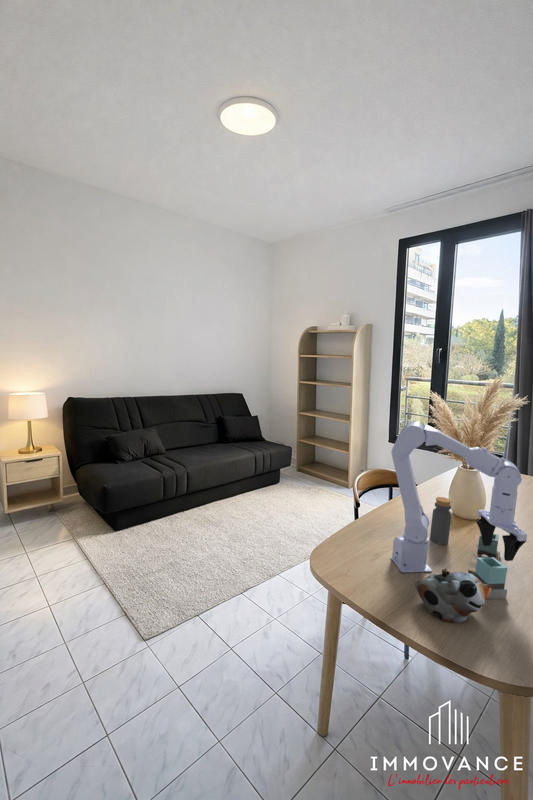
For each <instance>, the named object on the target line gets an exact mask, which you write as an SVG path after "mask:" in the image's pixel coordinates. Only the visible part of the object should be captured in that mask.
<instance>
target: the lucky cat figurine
mask: <svg viewBox="0 0 533 800" xmlns="http://www.w3.org/2000/svg"><path fill="white" fill-rule="evenodd" d="M414 584H415V585H414V586H415V588H416V592H417V593H418V596H419V597H420V600H421V601H422V604H424V606H425V607H426V609H427V610H428V611H429V612H430V613H431V614H432V615H433V616H434V615H435V616H437V618H439V620H440V621H442V622H445V623H446V622H448V623H464V622H465V621H466V620H467V619H468V617H469V615H470V614H472V613H476V612H478V611H481V610H482V608H483V606H484V604H485V602H486V600H488V599H487V598H488V597H489V596H490V593H491V587H492V585H487V584H483V583H482V582H481V581H480V580H479V579H478V578H477V577H475V576H474V575H473V574H470V573H468V572H465V571H453V572H450V570H449V569H448V568H444V569H442V571H441V573H440V574H436V573H432V574H429V575H428V576H427V577H425V578H424V579H423V580H416V581H415V583H414Z"/></svg>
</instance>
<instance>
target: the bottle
mask: <svg viewBox="0 0 533 800" xmlns="http://www.w3.org/2000/svg"><path fill="white" fill-rule="evenodd" d="M435 500H436V501H435V503H434V508H433V510H432V515H431V516H432V517H431V524H430V531H429V533H430V534H429V540H430V541H432V542H433V543H435V544H437V545H448V544H449V540H450V539H449V537H450V530H451V521H452V512H451V511H450V510H452V505H451V503H452V500H451V499H449V498H448V497H443V496H436V497H435Z"/></svg>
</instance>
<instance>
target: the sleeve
mask: <svg viewBox="0 0 533 800" xmlns="http://www.w3.org/2000/svg"><path fill="white" fill-rule="evenodd" d="M507 572H508V567H507V566H505V565H504V564H503V563H501V561H500V560H499V561H498V560H497V559H495V558H494V557H484V558H477V563H476V571H475V577H477V578H478V579H479V580H480V581H481V582H482V583H483V584H487V585H492V587H491V589H503V588H504V587H505V585H506V580H507V579H506V578H507ZM505 588H506V587H505Z"/></svg>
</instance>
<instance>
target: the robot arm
mask: <svg viewBox="0 0 533 800" xmlns="http://www.w3.org/2000/svg"><path fill="white" fill-rule="evenodd" d="M424 443H425V446H426V447H429V446H439V447H441V448H442V449H445V450H447V451H450V452H451V453H453V454H455V455H457V456H459V457H461V458H464V462H465V464H466V465H467V466H468V467H471V468H473V469H475V470H477V471H479V472H481V473H482V474H484V475H486V476H488V477H490V478H494V479H493V487H492V489H491V497H490V498H491V499H490V505H489V506H490V507H489V511H488V510H486V509H478V510H477V517H478V518H477V519H476V520H475V523H476V525H477V526H478V529H479V532H480V533H481V537H482V542H483V545H484V546H490V545H491V543H492V539H493V534H495V531H496V528H499V529H501V530H503V531H505V532H506V533H507V534H506V535H505V534H504V535H502V540H503V545H504V553H503V558H504V560H505V561H506V562H512V561H514V559H515V557H516V555H517V553H518V551H519V549H520V548H521V547H522V546H523V545H524V544H526V543H527V539H528V538H527V537H528V533H527V532H525V531H523V530H522V529H521V528H520V527H519V526H518V525H517V524H516V522H517V521H515V515H516V508H517V500H518V489H519V488H518V487H519V485H520V484H521V483H522V480H523V479H522V474H521V472H520V471H519V469H518V467H517V466H516V464H515V463H513V462H512V461H510V460H509V459H506V458H504V457H501V458H500V457H498V456H497V455H495V454H493V453H491V452H488V449H487V448H486V447H484V446H482V447H479V446H475V447H469V446H467V445H466V444H464V443H462V442H460V441H459V440H457V439H455V438H453V437H451V436H449V435H447V434H446V433H444V432H442V431H441V430H439V429H437V428H434V427H433V426H431V425H428V424H424V423H423V422H421V421H419V420H412V421H409V422H408V423H407V424H406V425H405V426H404V427H402V429H401V430H400V432H399V434H398V435H397V438H396V440H395V442H394V445H393V447H392V449H391V451H390V454H391V457H392V461H393V467H394V470H395V474H396V478H397V483H398V488H399V492H400V496H401V501H402V504H403V505H402V506H403V509H404V521H405V526H404V529H403V530H404V531H403V533H402V535H400V536H396V537H394V539H393V542H392V555H391V556H390V558H391V560H392V562H393V563H394V564H395V565H396V566H397V568H398V569H399V571H400V572H401V573H404V574H405V573H432V572H433V570H432V569H431V567H430V566H428V564H427V559H428V551H429V550H428V549H429V541H430V537H429V536H428V534H429V533H428V530H429V525H430V521H429V517H428V515H426V514H425V512H424V508H423V506H422V503H421V502H420V497H419V493H418V488H417V484H416V479H415V476H414V471H413V467H412V463H411V459H410V454H412V452H413V451H414V450H415V449H417V448H419V447H420V446H422V445H423V444H424Z"/></svg>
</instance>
